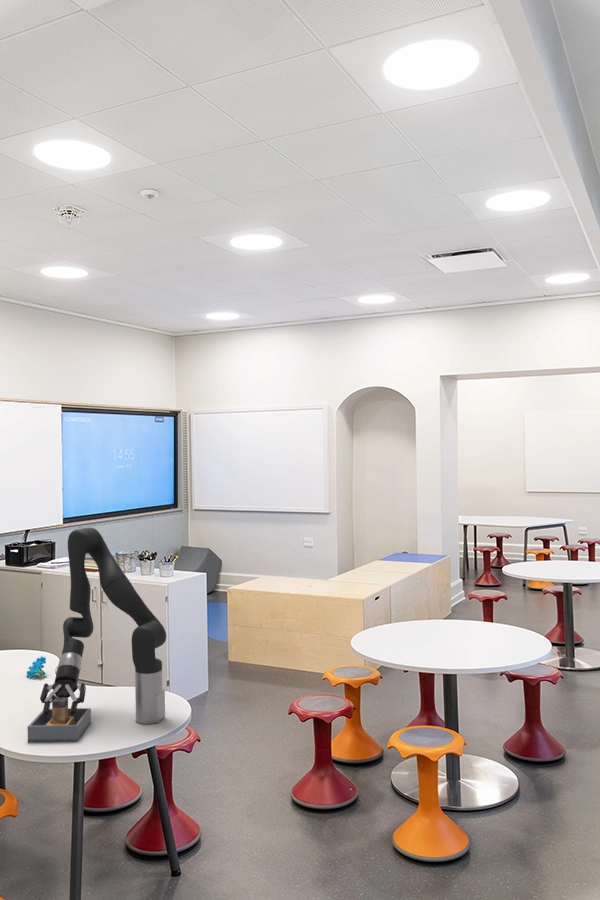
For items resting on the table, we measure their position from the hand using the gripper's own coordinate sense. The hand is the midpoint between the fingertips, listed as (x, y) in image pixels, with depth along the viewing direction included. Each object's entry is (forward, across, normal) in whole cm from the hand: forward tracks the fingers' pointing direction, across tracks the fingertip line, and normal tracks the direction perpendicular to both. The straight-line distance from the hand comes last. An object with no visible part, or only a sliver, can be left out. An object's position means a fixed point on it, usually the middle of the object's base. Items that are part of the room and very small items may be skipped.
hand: (58, 714), depth 245 cm
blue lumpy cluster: (-39, -28, +48) cm, 68 cm away
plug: (+3, 0, +5) cm, 6 cm away
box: (+4, 0, +6) cm, 7 cm away
